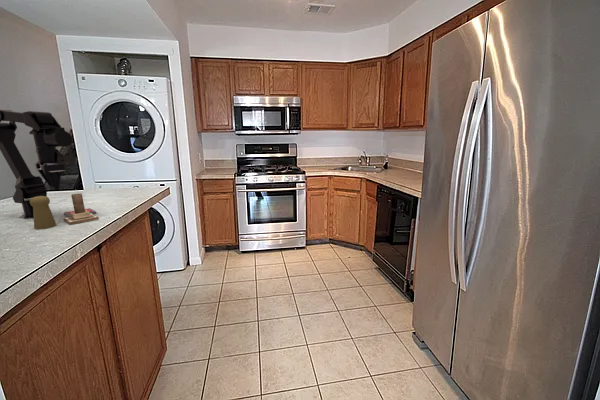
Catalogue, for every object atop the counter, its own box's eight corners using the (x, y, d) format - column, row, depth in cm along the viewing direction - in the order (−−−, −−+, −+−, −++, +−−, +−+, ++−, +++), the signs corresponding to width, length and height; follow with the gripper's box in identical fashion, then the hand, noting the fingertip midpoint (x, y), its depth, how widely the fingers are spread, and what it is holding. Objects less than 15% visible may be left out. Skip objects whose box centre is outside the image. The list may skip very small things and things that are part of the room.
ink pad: (64, 214, 118) (63, 212, 117) (90, 210, 124) (89, 207, 124) (69, 218, 112) (68, 215, 112) (96, 213, 118) (96, 211, 118)
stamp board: (63, 220, 109) (63, 217, 109) (91, 215, 116) (91, 212, 116) (69, 225, 104) (69, 222, 103) (98, 219, 110) (98, 216, 110)
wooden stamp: (71, 217, 109) (66, 194, 107) (87, 214, 113) (82, 192, 111) (74, 220, 106) (70, 196, 104) (90, 217, 110) (86, 194, 108)
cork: (43, 229, 99) (36, 198, 96) (29, 228, 100) (22, 198, 98) (60, 224, 105) (54, 195, 102) (47, 223, 106) (41, 194, 103)
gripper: (79, 146, 106) (86, 187, 110) (67, 145, 118) (74, 183, 122) (39, 147, 98) (49, 192, 102) (30, 146, 110) (39, 186, 114)
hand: (54, 188), depth 110 cm, fingers open, 9 cm apart
